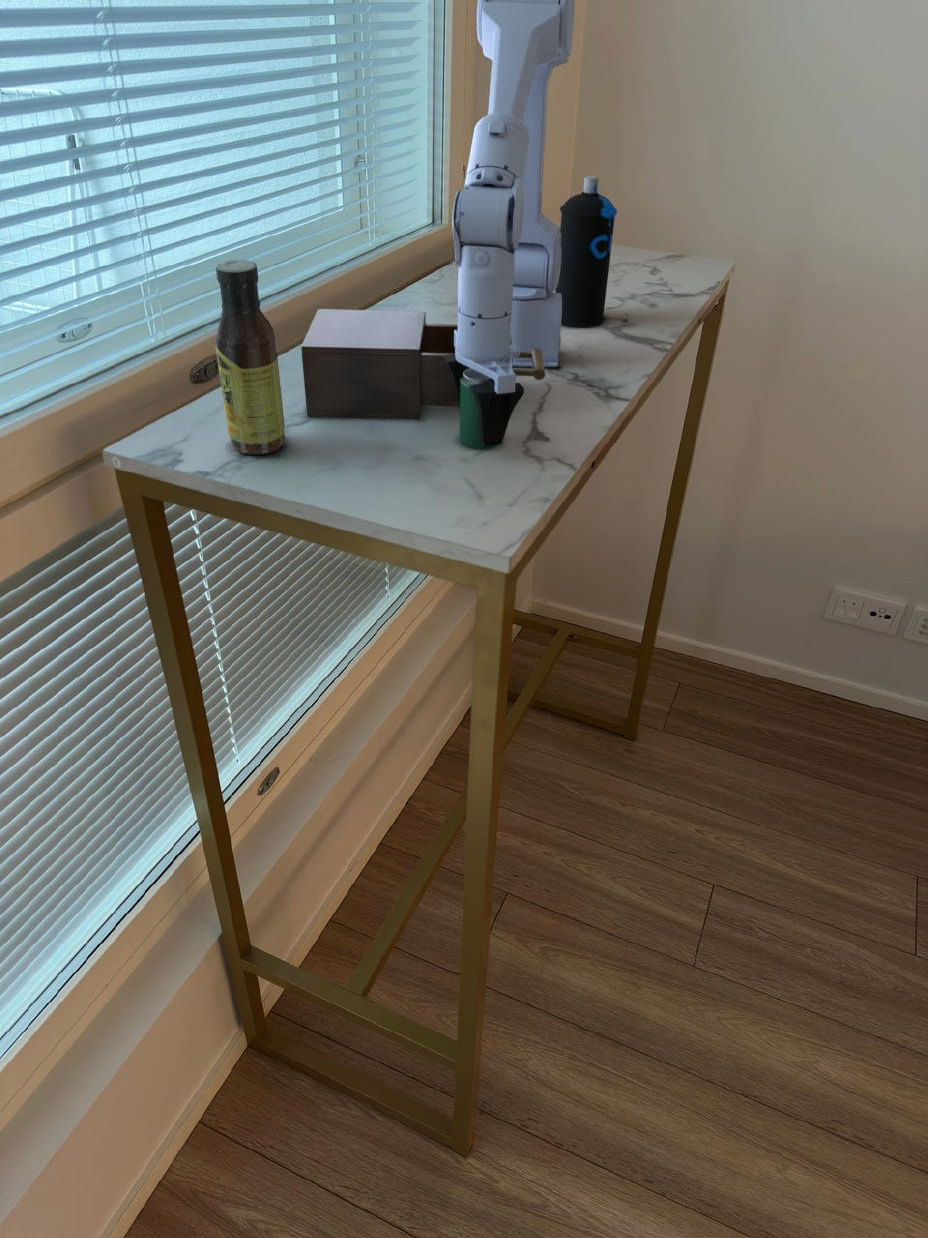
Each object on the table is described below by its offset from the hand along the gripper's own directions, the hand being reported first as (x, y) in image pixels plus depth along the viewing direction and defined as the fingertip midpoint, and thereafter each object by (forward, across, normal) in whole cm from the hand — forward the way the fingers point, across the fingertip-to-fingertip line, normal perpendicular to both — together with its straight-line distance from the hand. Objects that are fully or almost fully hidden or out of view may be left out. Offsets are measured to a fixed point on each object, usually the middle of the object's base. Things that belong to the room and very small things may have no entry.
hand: (480, 429), depth 103 cm
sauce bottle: (+2, +6, +25) cm, 25 cm away
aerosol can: (+2, +36, -29) cm, 47 cm away
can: (+1, 0, 0) cm, 1 cm away
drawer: (0, +12, -3) cm, 12 cm away
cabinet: (+1, +16, +9) cm, 19 cm away
